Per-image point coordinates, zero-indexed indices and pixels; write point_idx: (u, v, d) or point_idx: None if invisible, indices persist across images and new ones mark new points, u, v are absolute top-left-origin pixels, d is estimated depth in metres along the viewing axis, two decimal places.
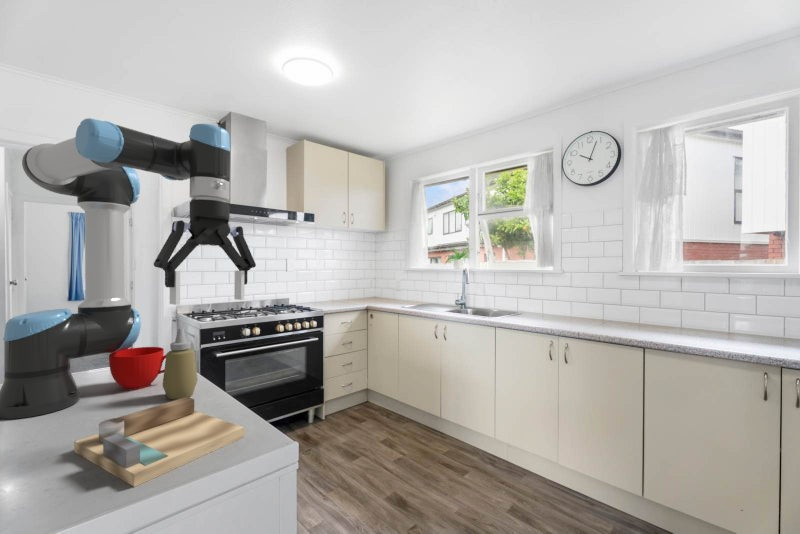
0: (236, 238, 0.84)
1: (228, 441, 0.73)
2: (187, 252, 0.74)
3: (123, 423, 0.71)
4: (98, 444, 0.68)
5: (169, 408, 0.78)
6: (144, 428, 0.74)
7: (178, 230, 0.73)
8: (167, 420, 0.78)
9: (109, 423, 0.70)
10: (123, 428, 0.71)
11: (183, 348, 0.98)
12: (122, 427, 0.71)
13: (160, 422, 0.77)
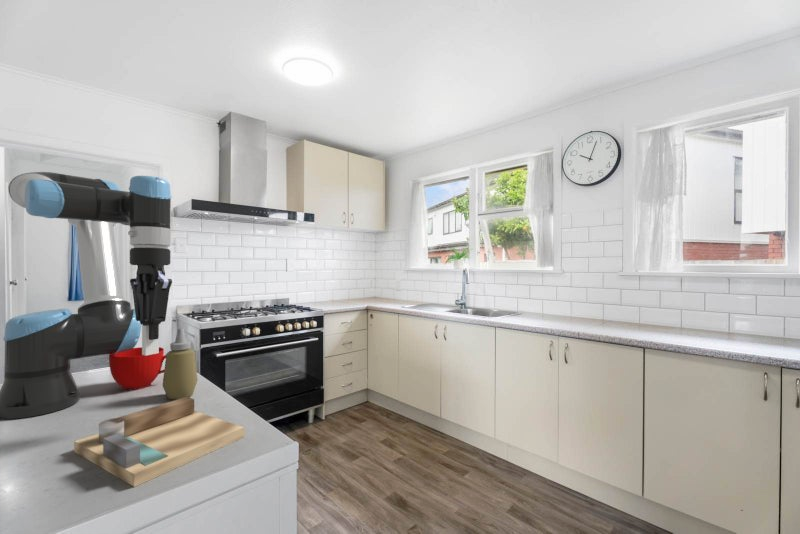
0: None
1: (228, 441, 0.73)
2: (141, 303, 0.82)
3: (123, 423, 0.71)
4: (98, 444, 0.68)
5: (169, 408, 0.78)
6: (144, 428, 0.74)
7: (132, 287, 0.84)
8: (167, 420, 0.78)
9: (109, 423, 0.70)
10: (123, 428, 0.71)
11: (183, 348, 0.98)
12: (122, 427, 0.71)
13: (160, 422, 0.77)
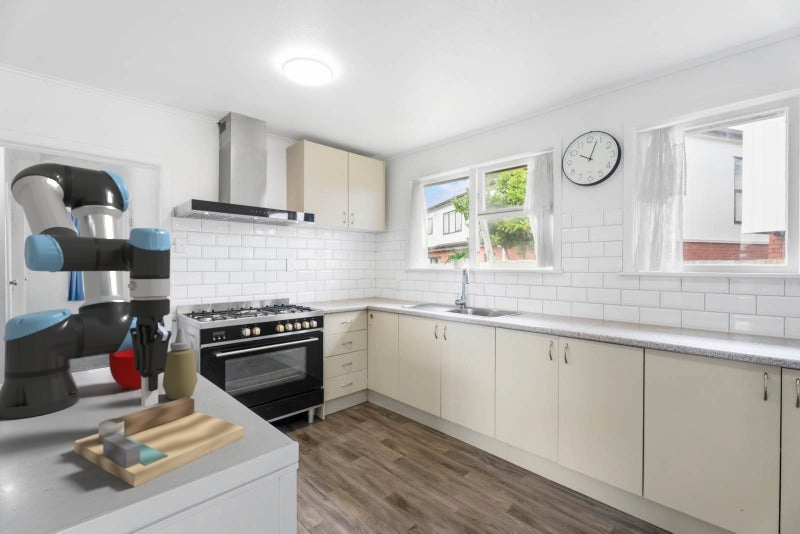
0: None
1: (228, 441, 0.73)
2: (141, 354, 0.82)
3: (123, 423, 0.71)
4: (98, 444, 0.68)
5: (169, 408, 0.78)
6: (144, 428, 0.74)
7: (131, 337, 0.84)
8: (167, 420, 0.78)
9: (109, 423, 0.70)
10: (123, 428, 0.71)
11: (183, 348, 0.98)
12: (122, 427, 0.71)
13: (160, 422, 0.77)
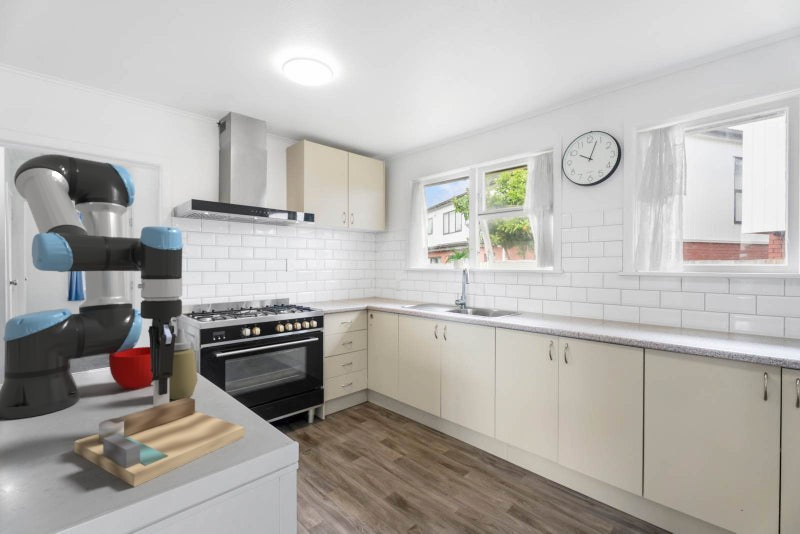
0: None
1: (228, 441, 0.73)
2: (153, 356, 0.80)
3: (123, 423, 0.71)
4: (98, 444, 0.68)
5: (170, 409, 0.78)
6: (144, 428, 0.74)
7: (149, 337, 0.83)
8: (167, 420, 0.78)
9: (109, 423, 0.70)
10: (123, 429, 0.71)
11: (183, 348, 0.98)
12: (122, 427, 0.71)
13: (160, 422, 0.77)
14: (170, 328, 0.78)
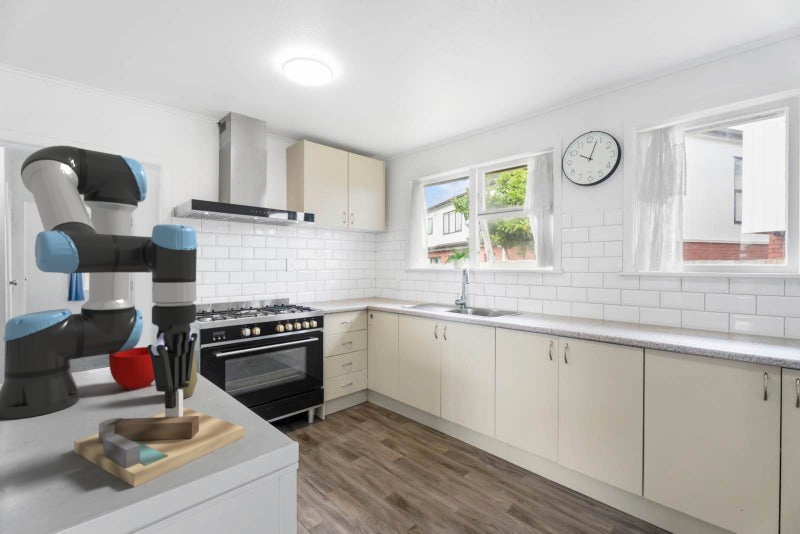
0: None
1: (228, 441, 0.73)
2: None
3: (113, 427, 0.69)
4: (98, 444, 0.68)
5: (162, 425, 0.70)
6: (134, 438, 0.70)
7: None
8: (159, 437, 0.70)
9: (107, 422, 0.70)
10: (112, 432, 0.69)
11: None
12: (111, 431, 0.69)
13: (152, 437, 0.70)
14: (165, 337, 0.70)
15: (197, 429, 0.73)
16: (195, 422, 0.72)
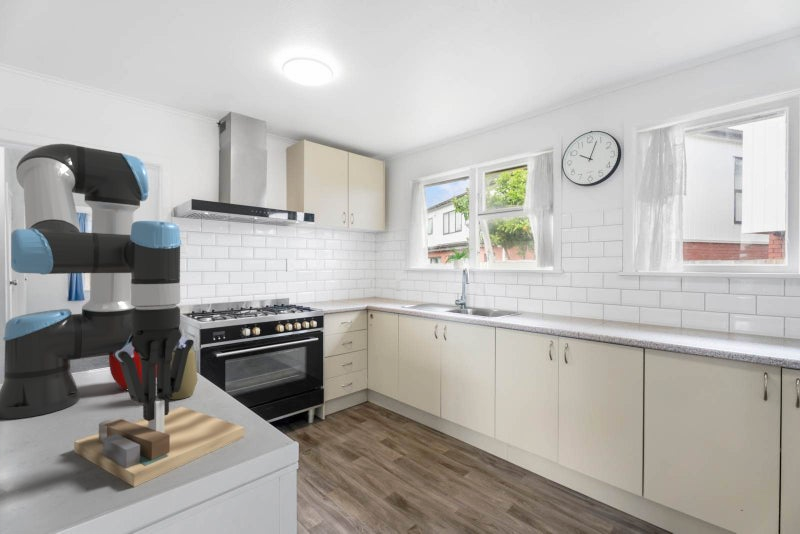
0: None
1: (228, 441, 0.73)
2: None
3: (105, 428, 0.69)
4: (98, 444, 0.68)
5: (133, 438, 0.65)
6: None
7: None
8: None
9: (108, 422, 0.71)
10: (105, 433, 0.69)
11: None
12: (104, 431, 0.69)
13: None
14: (133, 343, 0.64)
15: (166, 450, 0.65)
16: (160, 442, 0.64)
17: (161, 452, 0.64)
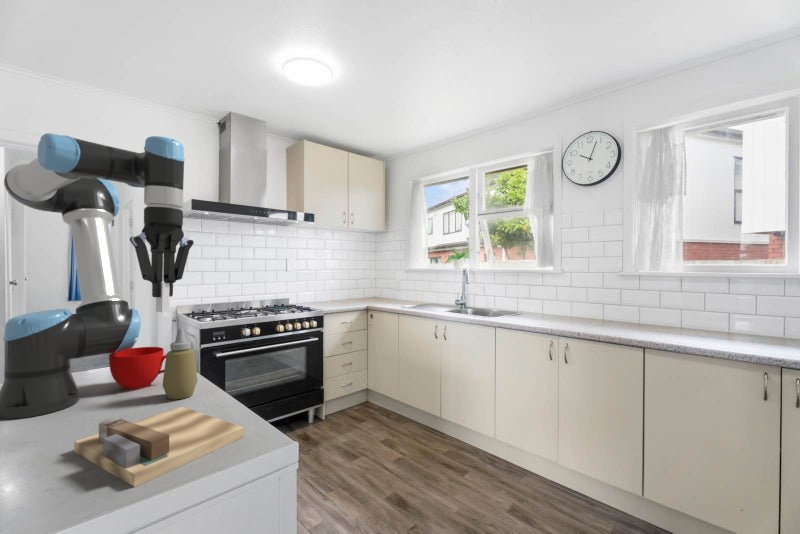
0: None
1: (228, 441, 0.73)
2: None
3: (105, 428, 0.69)
4: (98, 444, 0.68)
5: (133, 438, 0.65)
6: None
7: None
8: None
9: (108, 422, 0.71)
10: (105, 433, 0.69)
11: (183, 348, 0.98)
12: (104, 431, 0.69)
13: None
14: (145, 232, 0.81)
15: (165, 450, 0.65)
16: (160, 442, 0.64)
17: (161, 452, 0.64)
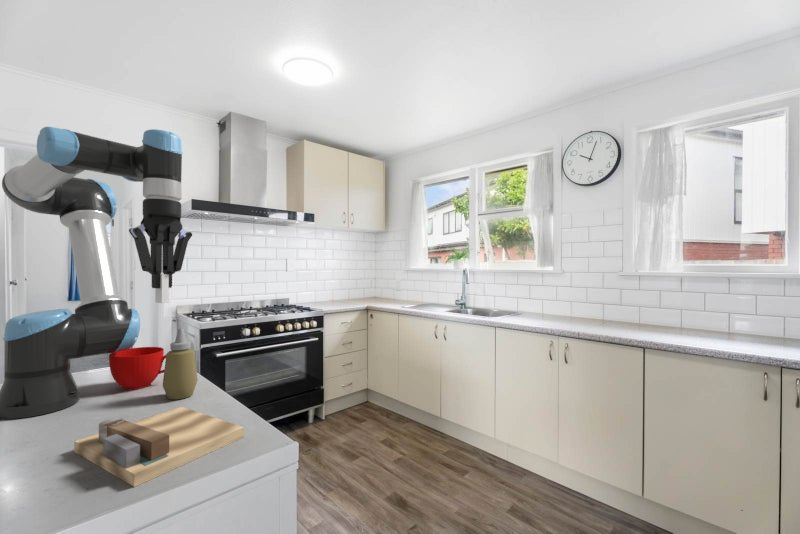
0: None
1: (228, 441, 0.73)
2: None
3: (105, 428, 0.69)
4: (98, 444, 0.68)
5: (133, 438, 0.65)
6: None
7: None
8: None
9: (108, 422, 0.71)
10: (105, 433, 0.69)
11: (183, 348, 0.98)
12: (104, 431, 0.69)
13: None
14: (144, 224, 0.82)
15: (165, 450, 0.65)
16: (160, 442, 0.64)
17: (161, 452, 0.64)
